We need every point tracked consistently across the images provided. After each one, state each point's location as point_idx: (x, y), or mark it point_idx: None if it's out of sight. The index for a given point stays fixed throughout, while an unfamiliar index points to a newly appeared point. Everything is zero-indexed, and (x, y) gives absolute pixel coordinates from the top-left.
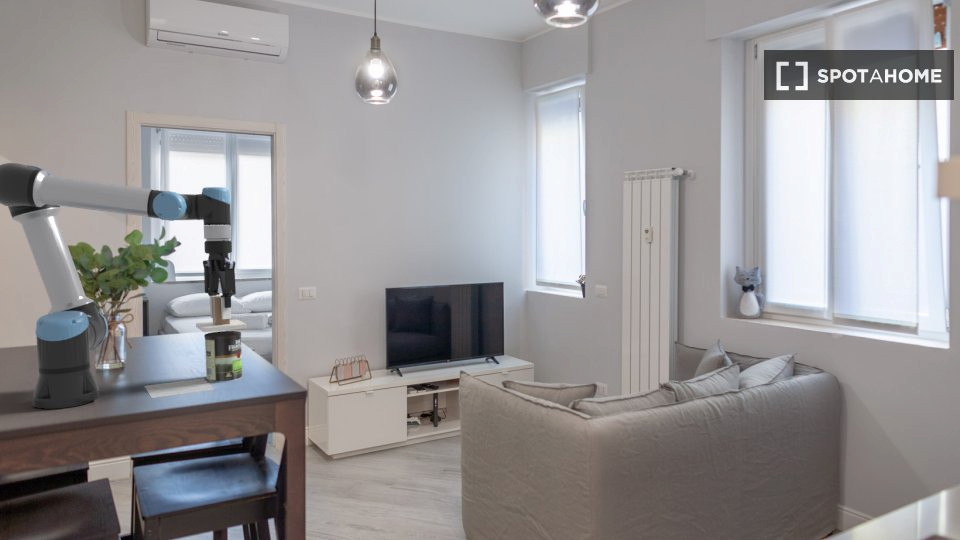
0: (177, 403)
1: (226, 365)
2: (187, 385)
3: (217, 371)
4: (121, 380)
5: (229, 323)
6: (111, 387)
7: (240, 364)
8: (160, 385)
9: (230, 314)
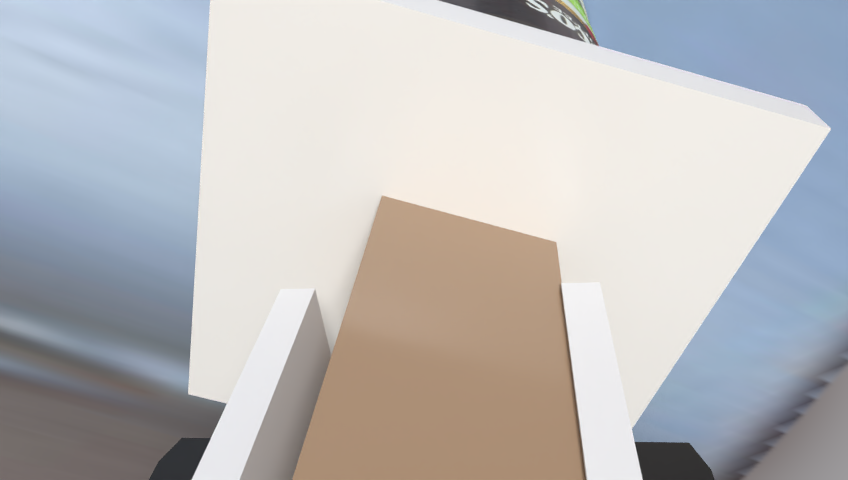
0: (716, 395)
1: None
2: None
3: None
4: (110, 356)
5: (554, 247)
6: None
7: (581, 10)
8: None
9: (607, 331)
